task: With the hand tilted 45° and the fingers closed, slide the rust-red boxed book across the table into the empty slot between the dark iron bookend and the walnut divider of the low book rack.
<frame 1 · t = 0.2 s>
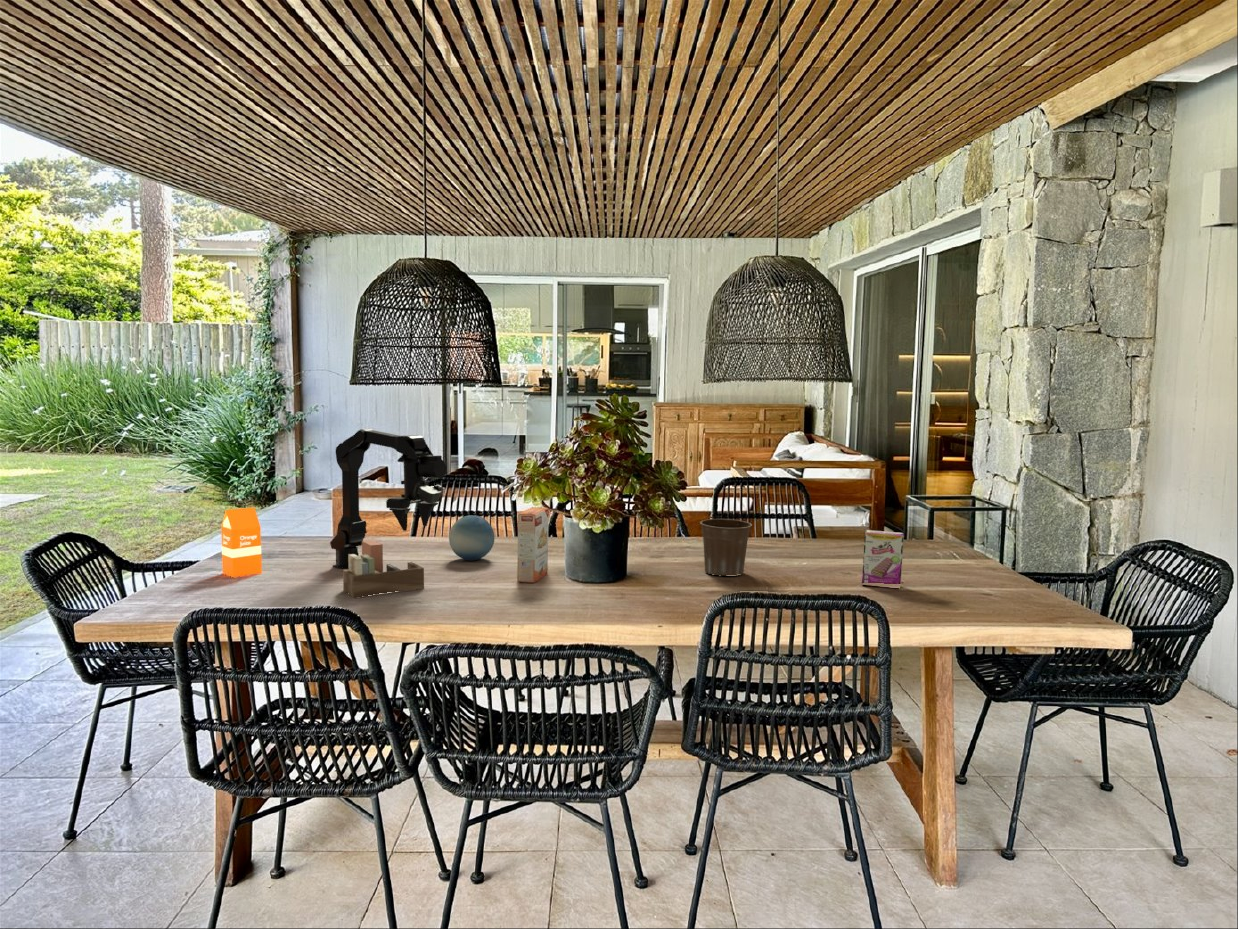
hand: (415, 528, 247), 15 cm above the table, tool pointing down, fingers open, 9 cm apart
plant pot: (724, 573, 259), on the table
book: (372, 582, 241), on the table
orange juice: (242, 573, 250), on the table
candy bar box: (881, 586, 245), on the table
decorative ball: (471, 560, 273), on the table
book rack: (383, 589, 233), on the table
cracker box: (533, 578, 249), on the table
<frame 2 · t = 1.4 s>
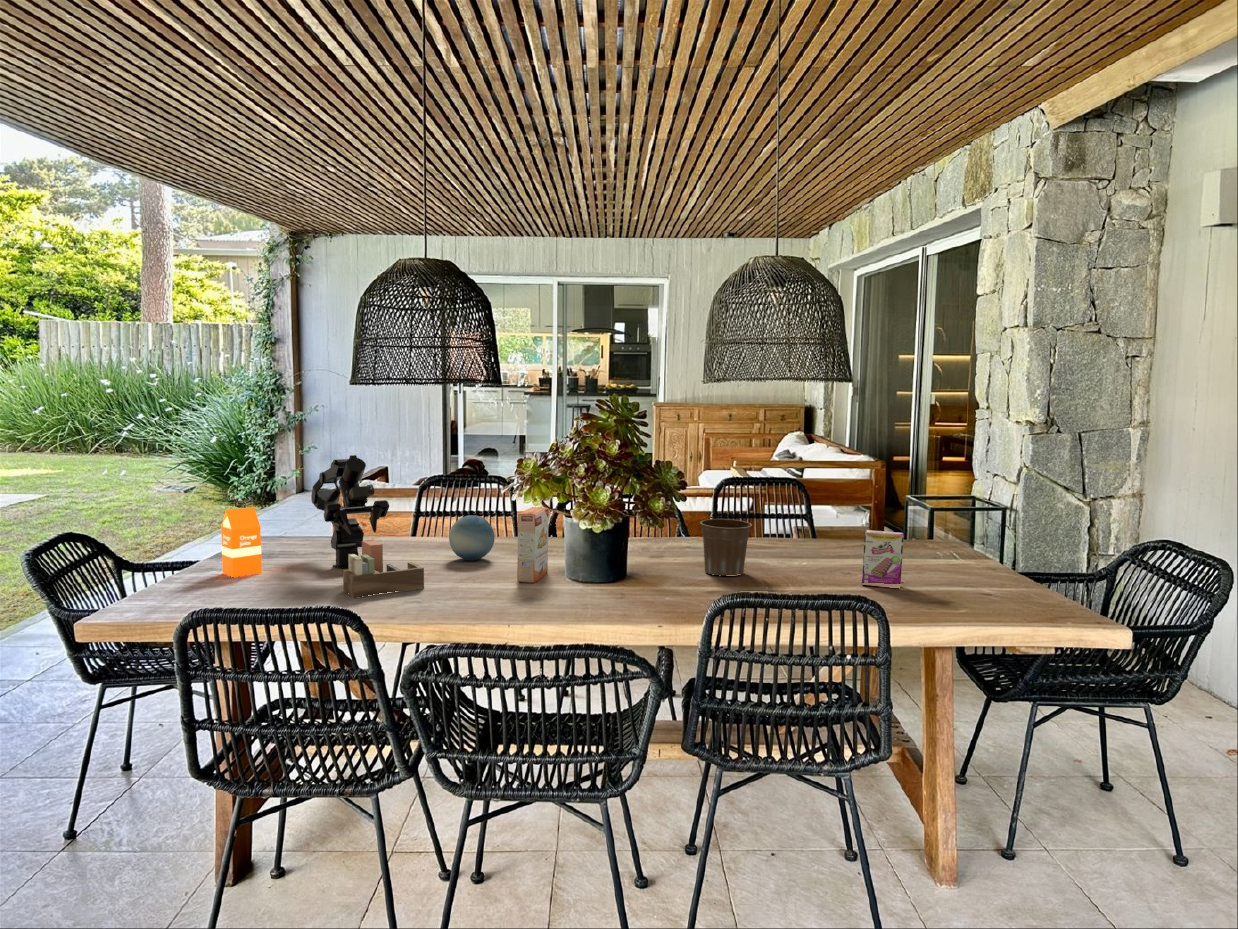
hand: (363, 533, 246), 13 cm above the table, tool tilted 45°, fingers open, 7 cm apart
nothing on the table moved.
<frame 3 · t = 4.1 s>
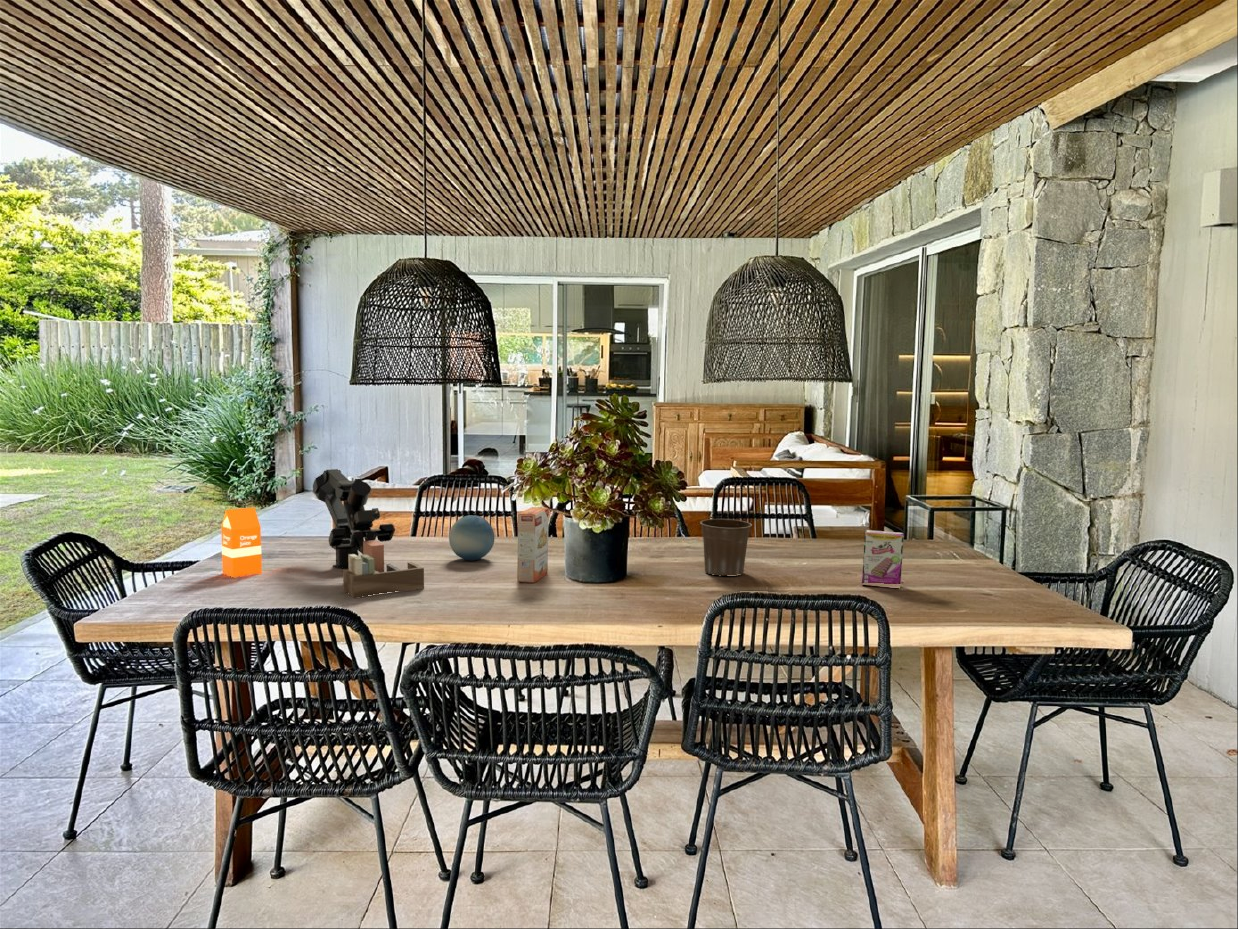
hand: (368, 557, 242), 7 cm above the table, tool tilted 45°, fingers closed, pressing on book
book: (373, 583, 240), on the table, touching gripper
everything else where it was.
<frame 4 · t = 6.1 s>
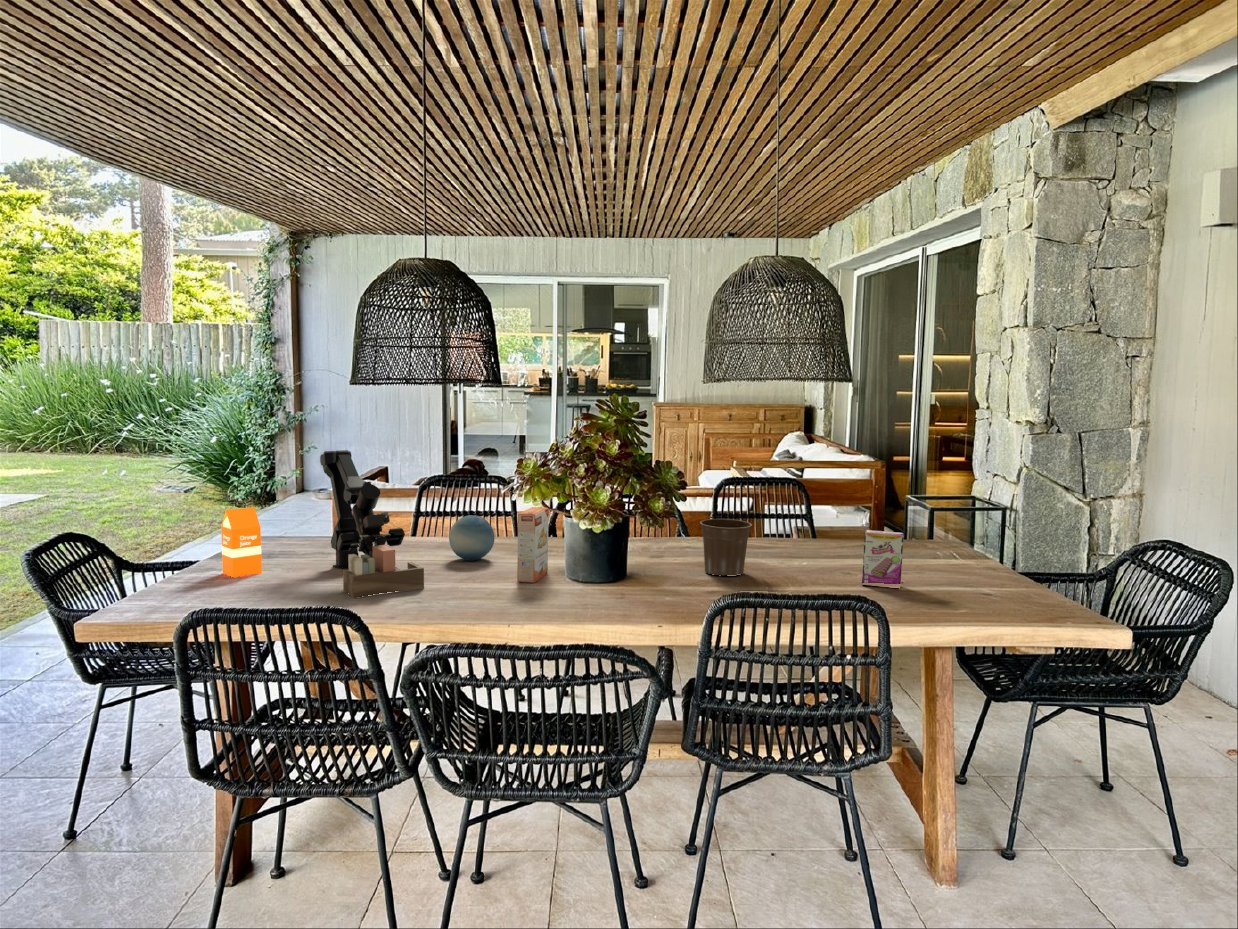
hand: (378, 563, 236), 7 cm above the table, tool tilted 45°, fingers closed, pressing on book
book: (384, 589, 233), resting in book rack, touching gripper
everything else where it was.
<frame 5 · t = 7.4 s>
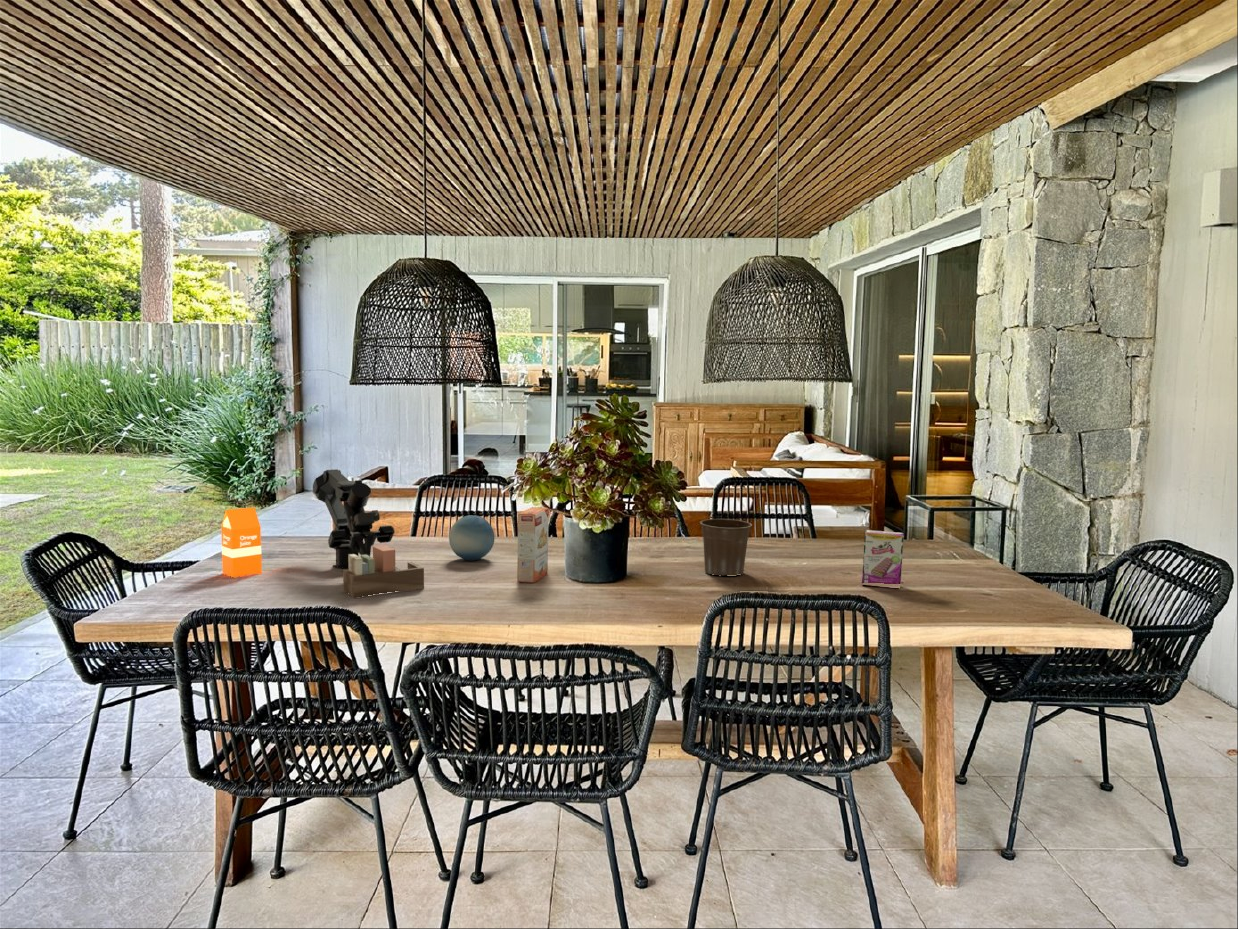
hand: (368, 559, 243), 6 cm above the table, tool tilted 45°, fingers closed
book: (384, 589, 233), resting in book rack
everything else where it was.
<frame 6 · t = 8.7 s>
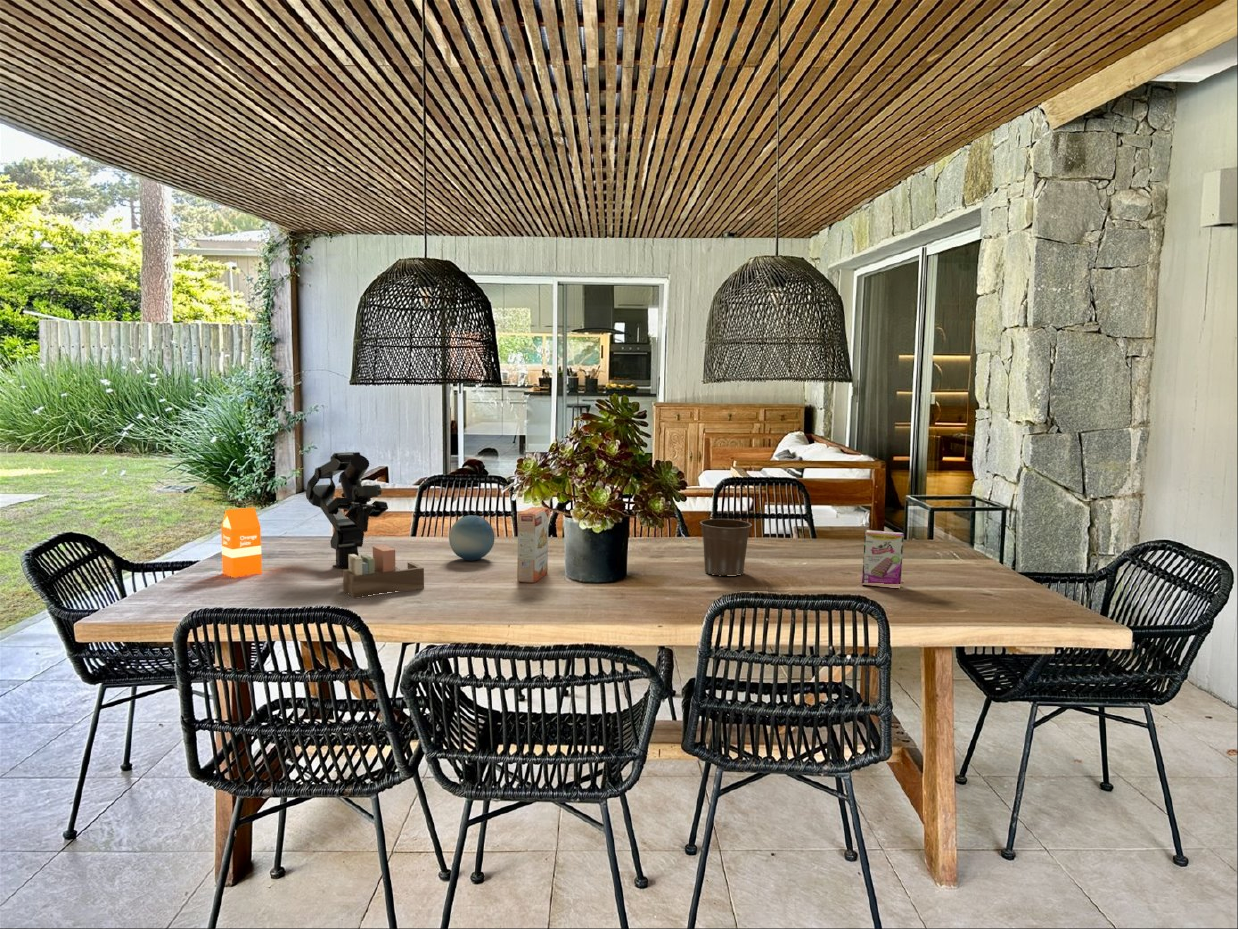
hand: (365, 531, 248), 14 cm above the table, tool tilted 35°, fingers closed
nothing on the table moved.
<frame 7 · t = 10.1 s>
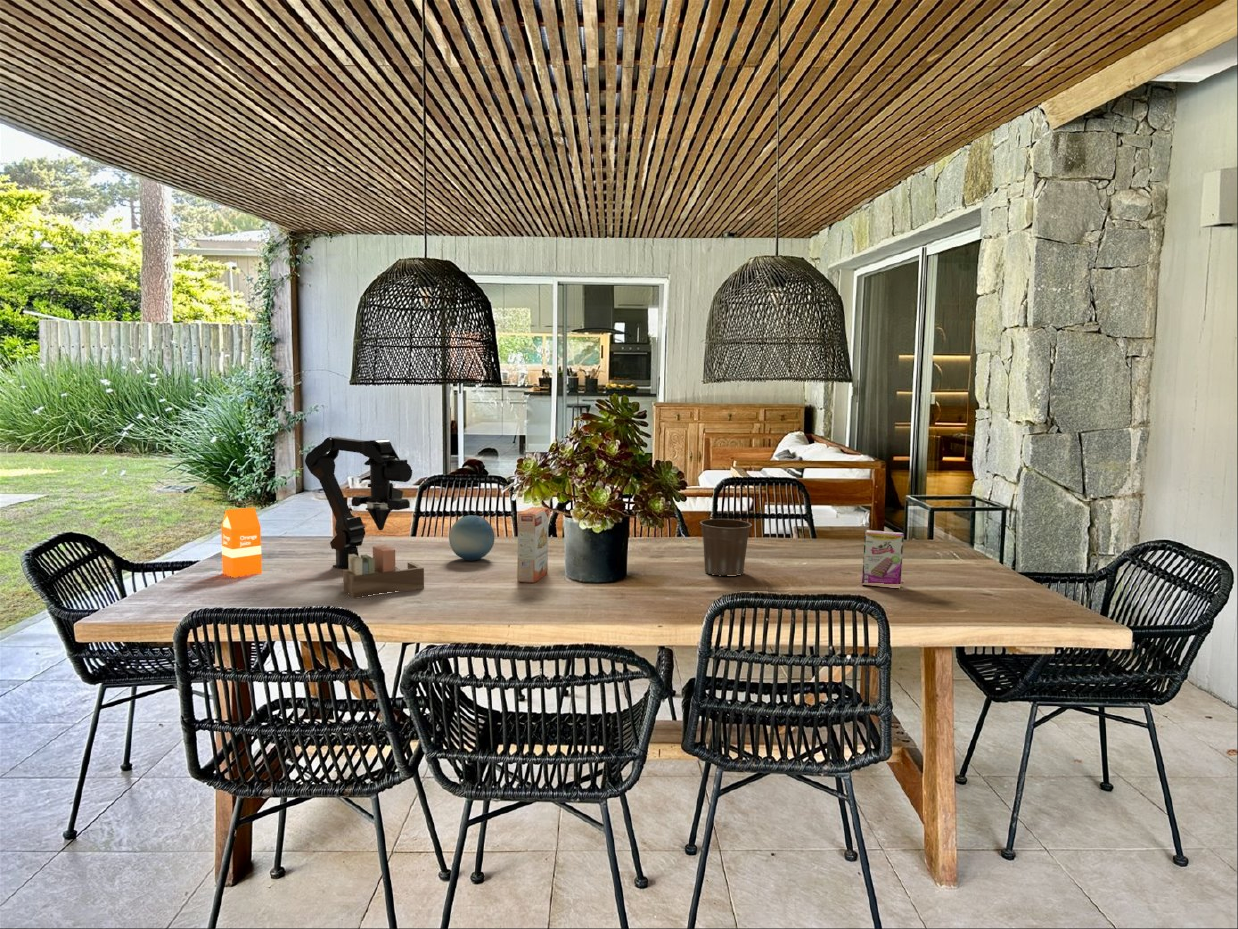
hand: (380, 530, 254), 13 cm above the table, tool pointing down, fingers closed
nothing on the table moved.
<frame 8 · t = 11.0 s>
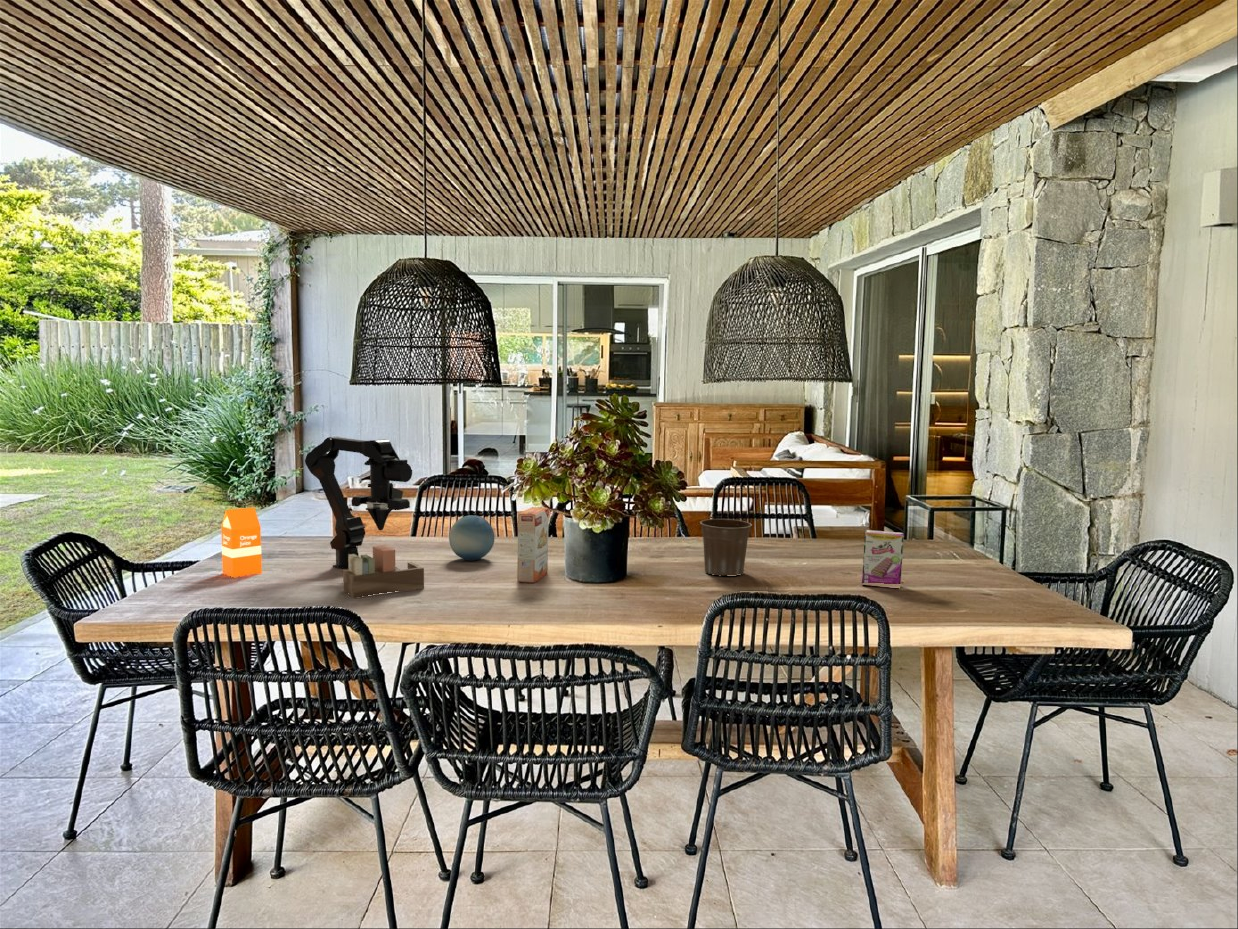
hand: (380, 530, 254), 13 cm above the table, tool pointing down, fingers closed
nothing on the table moved.
at the end: book 0.3 cm from the book rack (horizontally); book tilted 0° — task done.
